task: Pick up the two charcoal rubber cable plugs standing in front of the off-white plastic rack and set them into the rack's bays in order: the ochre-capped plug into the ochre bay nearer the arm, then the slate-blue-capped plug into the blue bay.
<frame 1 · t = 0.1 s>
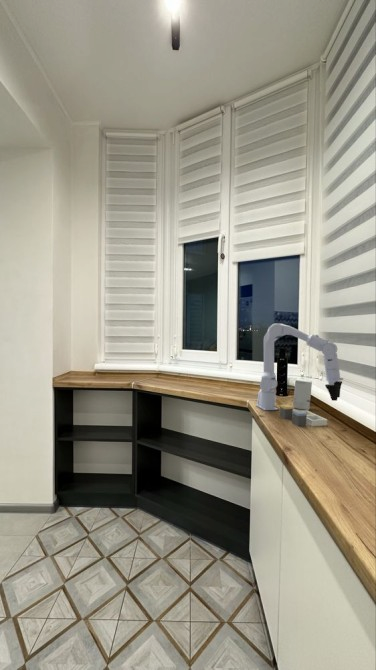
hand: (335, 398, 136), 11 cm above the counter, tool pointing down, fingers open, 7 cm apart
blue plug: (299, 424, 131), on the counter
ochre plug: (285, 417, 140), on the counter
rack: (308, 420, 137), on the counter
skincare box: (301, 408, 158), on the counter
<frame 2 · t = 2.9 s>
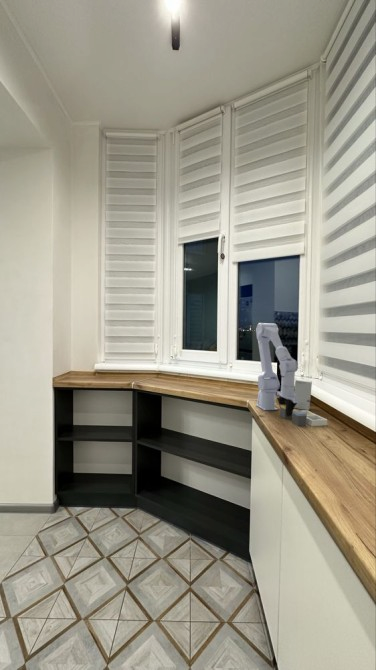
hand: (286, 414, 140), 1 cm above the counter, tool pointing down, fingers closed on ochre plug, 4 cm apart
ochre plug: (285, 417, 140), on the counter, touching gripper
everything else where it was.
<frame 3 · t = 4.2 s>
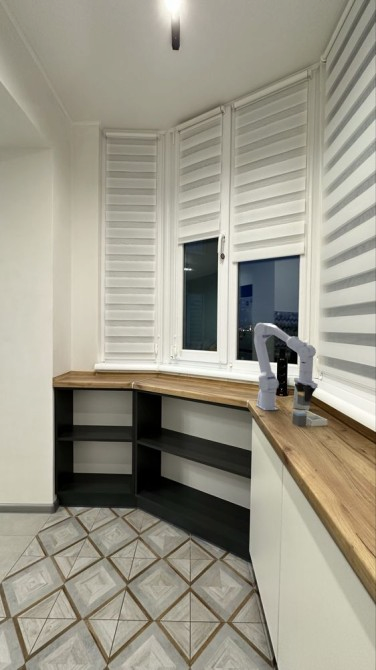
hand: (304, 400, 139), 8 cm above the counter, tool pointing down, fingers closed on ochre plug, 4 cm apart
ochre plug: (303, 404, 139), point 7 cm above the counter, touching gripper
everything else where it was.
when the fingers open (3 cm above the counter, at t = 5.6 s): ochre plug stays where it is, resting on rack.
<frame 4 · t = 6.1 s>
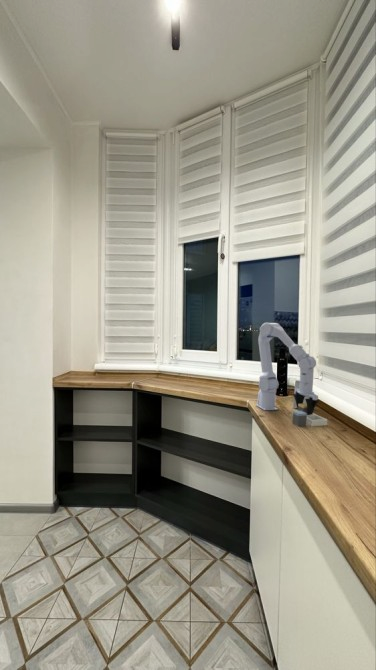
hand: (304, 411, 140), 3 cm above the counter, tool pointing down, fingers open, 7 cm apart
ochre plug: (303, 416, 140), point 1 cm above the counter, touching rack
everything else where it was.
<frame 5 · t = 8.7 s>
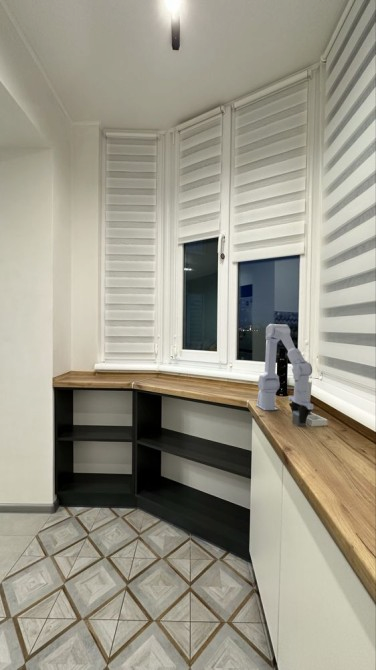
hand: (299, 421, 131), 1 cm above the counter, tool pointing down, fingers closed on blue plug, 4 cm apart
blue plug: (299, 424, 131), on the counter, touching gripper
everything else where it was.
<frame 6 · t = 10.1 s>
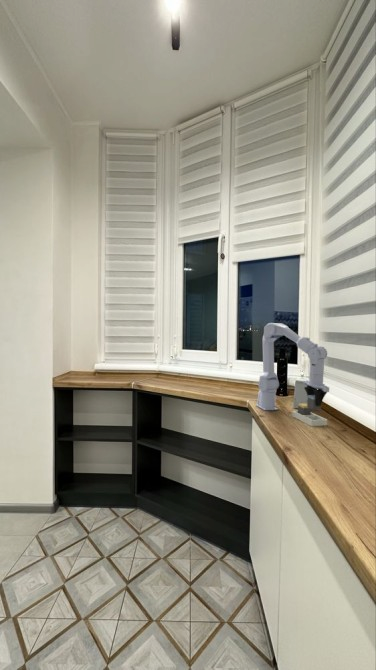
hand: (314, 404, 133), 8 cm above the counter, tool pointing down, fingers closed on blue plug, 4 cm apart
blue plug: (314, 408, 133), point 7 cm above the counter, touching gripper
everything else where it was.
when the fingers open (3 cm above the counter, at t = 11.4 s): blue plug stays where it is, resting on rack.
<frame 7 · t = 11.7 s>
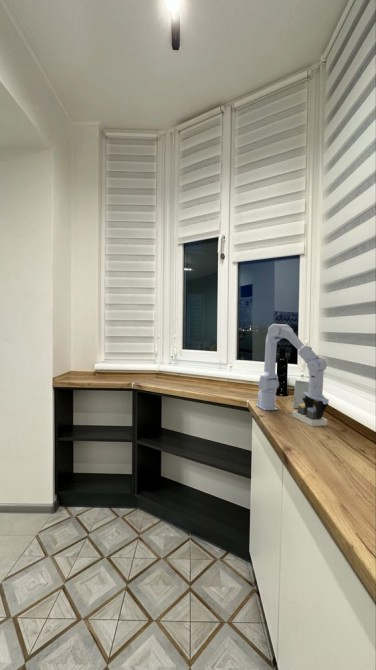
hand: (314, 415, 133), 3 cm above the counter, tool pointing down, fingers open, 6 cm apart
blue plug: (313, 420, 133), point 1 cm above the counter, touching rack
ochre plug: (303, 416, 140), point 1 cm above the counter, touching gripper, rack
everything else where it was.
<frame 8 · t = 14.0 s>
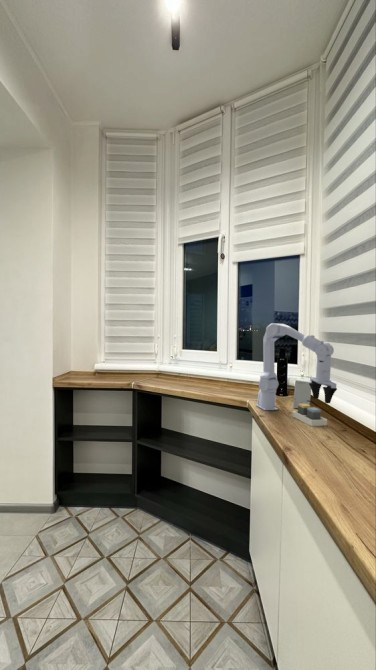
hand: (321, 400, 134), 10 cm above the counter, tool pointing down, fingers open, 7 cm apart
ochre plug: (303, 416, 140), point 1 cm above the counter, touching rack
everything else where it was.
at the end: ochre plug 0.3 cm from the target spot on the rack, point 0.9 cm above the rack's base; blue plug 0.2 cm from the target spot on the rack, point 0.9 cm above the rack's base; blue plug tilted 0° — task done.
